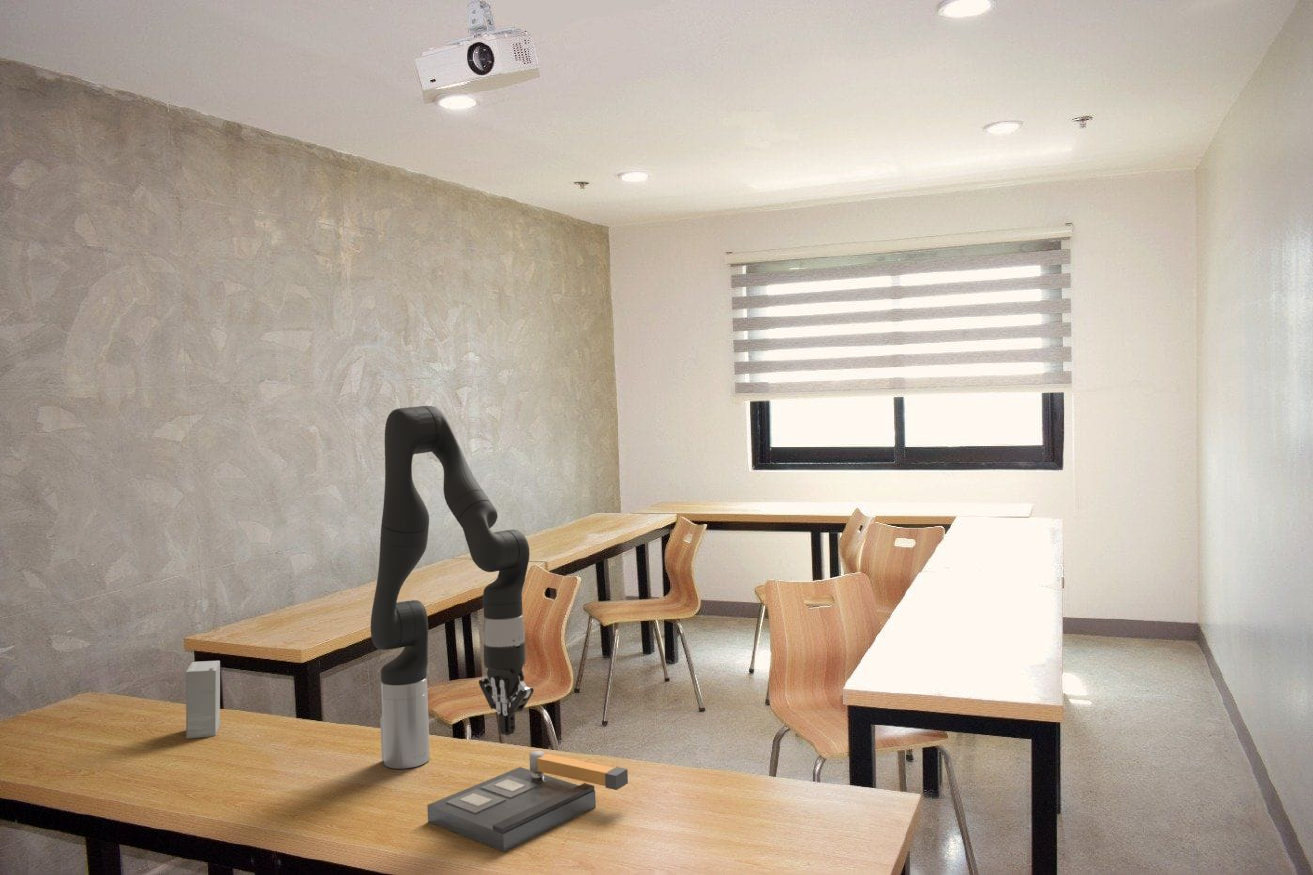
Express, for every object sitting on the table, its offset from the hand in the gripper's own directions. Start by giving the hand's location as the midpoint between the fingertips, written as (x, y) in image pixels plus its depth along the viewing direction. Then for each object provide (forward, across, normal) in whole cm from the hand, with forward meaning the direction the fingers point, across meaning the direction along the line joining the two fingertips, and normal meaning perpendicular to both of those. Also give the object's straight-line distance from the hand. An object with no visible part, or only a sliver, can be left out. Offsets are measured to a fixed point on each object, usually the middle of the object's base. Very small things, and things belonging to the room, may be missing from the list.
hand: (507, 733), depth 178 cm
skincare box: (+13, -89, -14) cm, 91 cm away
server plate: (+13, +4, -3) cm, 14 cm away
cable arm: (+9, +9, +8) cm, 15 cm away
